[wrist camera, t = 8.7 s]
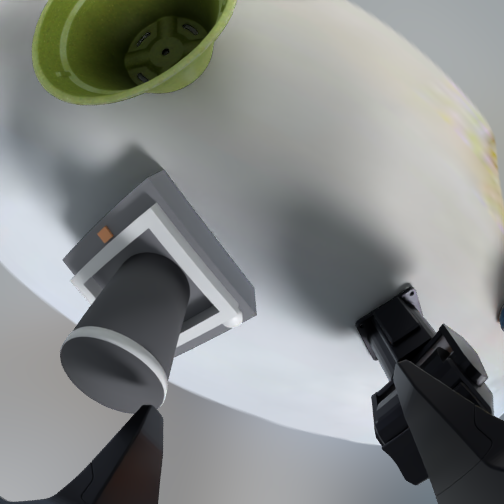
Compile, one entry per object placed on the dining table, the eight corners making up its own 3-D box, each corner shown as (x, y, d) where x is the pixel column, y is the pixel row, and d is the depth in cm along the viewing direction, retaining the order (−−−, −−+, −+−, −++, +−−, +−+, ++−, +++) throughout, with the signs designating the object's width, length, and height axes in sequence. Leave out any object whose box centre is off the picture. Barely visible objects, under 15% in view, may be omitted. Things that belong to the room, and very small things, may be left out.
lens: (177, 329, 18) (152, 425, 11) (111, 301, 17) (61, 385, 10) (202, 271, 17) (179, 371, 9) (126, 238, 16) (58, 316, 8)
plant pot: (165, -16, 11) (128, -79, 3) (268, 39, 14) (288, -25, 6) (84, 79, 14) (6, 63, 6) (178, 142, 17) (127, 149, 9)
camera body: (254, 287, 21) (257, 326, 17) (169, 335, 23) (158, 374, 19) (163, 169, 17) (140, 181, 13) (84, 241, 19) (53, 267, 15)
